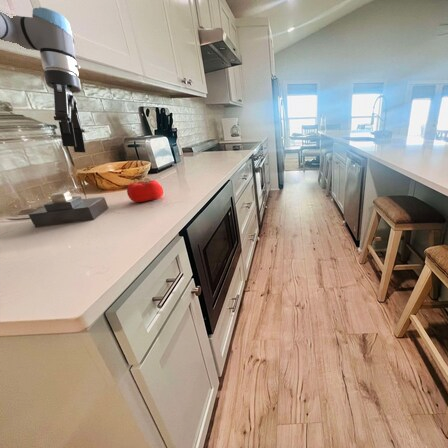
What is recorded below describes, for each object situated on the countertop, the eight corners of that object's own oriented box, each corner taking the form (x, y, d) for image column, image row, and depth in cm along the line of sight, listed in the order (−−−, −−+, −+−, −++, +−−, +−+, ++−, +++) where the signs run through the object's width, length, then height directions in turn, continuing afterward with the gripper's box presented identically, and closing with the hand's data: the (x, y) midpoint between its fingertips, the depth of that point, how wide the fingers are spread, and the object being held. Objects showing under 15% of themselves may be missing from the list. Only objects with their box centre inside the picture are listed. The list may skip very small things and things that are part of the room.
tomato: (167, 199, 86) (162, 181, 84) (131, 206, 80) (125, 187, 78) (162, 193, 94) (157, 177, 91) (129, 200, 88) (123, 182, 85)
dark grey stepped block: (35, 227, 67) (24, 207, 65) (58, 214, 77) (49, 196, 74) (94, 219, 71) (85, 200, 68) (108, 208, 80) (101, 190, 78)
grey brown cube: (53, 204, 68) (49, 195, 67) (60, 200, 71) (56, 192, 70) (67, 202, 69) (63, 194, 68) (73, 199, 71) (69, 191, 70)
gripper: (68, 58, 62) (83, 144, 65) (87, 91, 82) (97, 154, 86) (26, 50, 58) (44, 142, 61) (57, 86, 78) (69, 153, 82)
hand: (75, 149), depth 74 cm, fingers open, 13 cm apart
